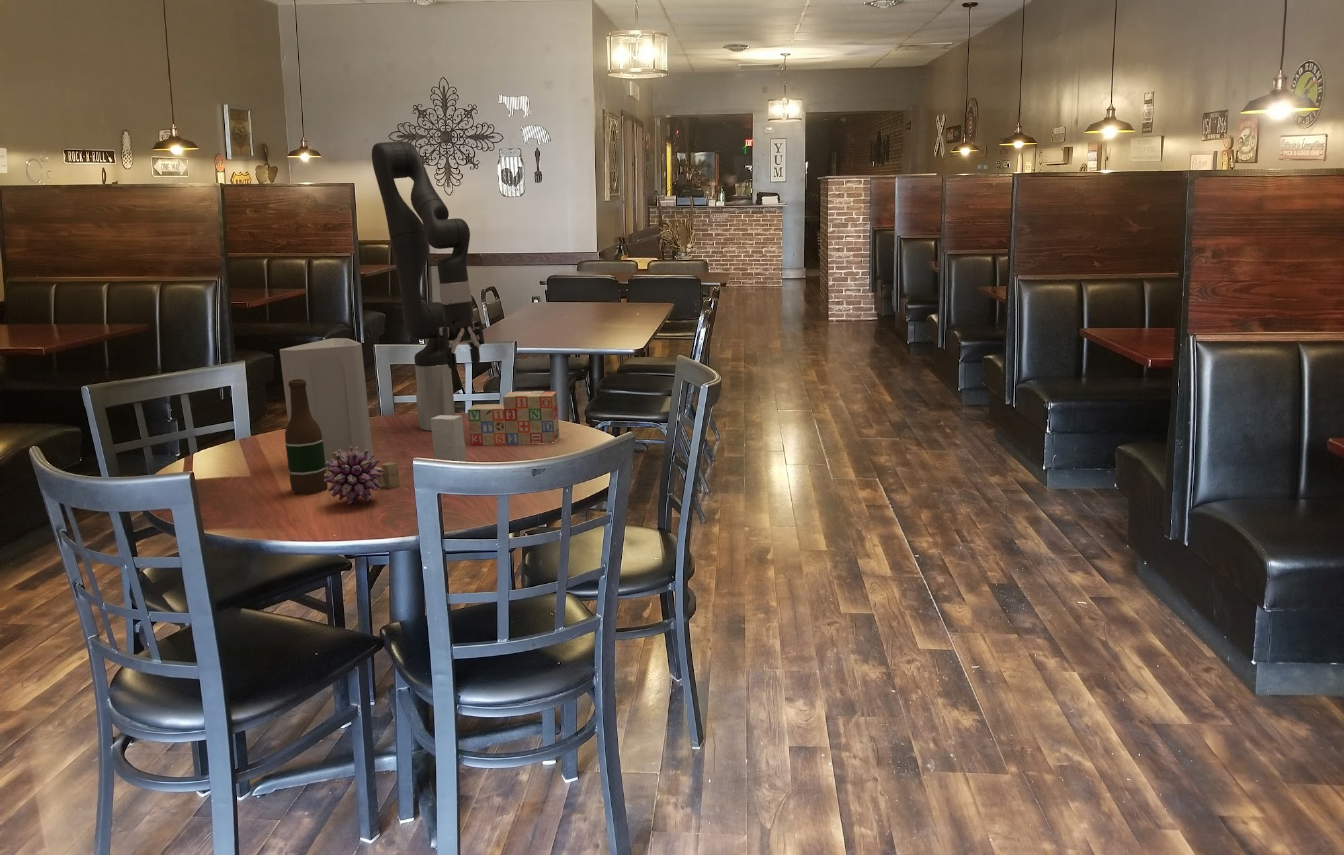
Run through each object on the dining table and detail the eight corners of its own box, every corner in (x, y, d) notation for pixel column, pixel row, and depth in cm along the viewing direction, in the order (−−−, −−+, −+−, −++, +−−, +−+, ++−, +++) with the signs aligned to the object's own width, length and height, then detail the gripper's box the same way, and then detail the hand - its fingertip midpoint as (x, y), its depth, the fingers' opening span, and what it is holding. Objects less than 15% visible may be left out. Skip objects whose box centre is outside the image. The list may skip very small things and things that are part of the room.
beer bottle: (295, 486, 239) (282, 378, 234) (332, 484, 240) (320, 376, 235) (286, 496, 232) (272, 384, 227) (324, 493, 232) (311, 382, 227)
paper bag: (344, 473, 249) (331, 351, 243) (292, 469, 255) (277, 350, 249) (394, 453, 267) (383, 338, 261) (344, 450, 272) (332, 338, 266)
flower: (347, 515, 216) (341, 456, 213) (315, 505, 224) (308, 448, 221) (397, 501, 224) (391, 444, 222) (364, 492, 232) (358, 437, 229)
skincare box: (467, 466, 250) (463, 415, 248) (458, 471, 246) (453, 419, 244) (444, 465, 252) (439, 414, 250) (434, 470, 248) (429, 418, 246)
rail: (334, 474, 249) (332, 452, 248) (343, 471, 250) (341, 450, 249) (390, 488, 234) (388, 465, 233) (399, 485, 236) (397, 463, 235)
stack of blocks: (470, 446, 271) (466, 397, 269) (476, 440, 278) (472, 392, 275) (555, 444, 269) (552, 395, 267) (560, 438, 275) (557, 390, 273)
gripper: (464, 298, 280) (471, 361, 283) (425, 304, 268) (433, 370, 271) (486, 297, 276) (494, 361, 279) (448, 303, 264) (456, 370, 267)
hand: (464, 365), depth 275 cm, fingers open, 8 cm apart
